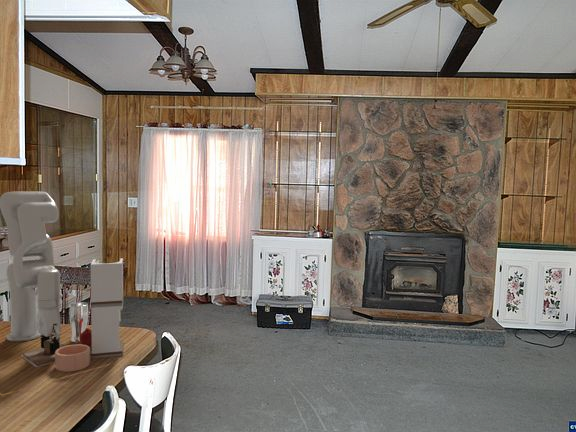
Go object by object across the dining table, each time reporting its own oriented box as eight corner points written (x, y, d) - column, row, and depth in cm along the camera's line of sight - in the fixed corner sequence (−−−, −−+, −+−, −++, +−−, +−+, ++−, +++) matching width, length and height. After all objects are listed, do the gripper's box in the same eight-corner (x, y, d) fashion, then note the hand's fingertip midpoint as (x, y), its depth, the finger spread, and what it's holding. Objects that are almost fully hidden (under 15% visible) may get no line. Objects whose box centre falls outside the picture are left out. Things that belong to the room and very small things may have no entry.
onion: (97, 344, 186) (97, 324, 186) (94, 349, 181) (93, 329, 180) (82, 345, 185) (81, 325, 185) (78, 350, 180) (77, 329, 179)
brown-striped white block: (122, 356, 174) (121, 263, 172) (92, 359, 171) (90, 264, 168) (123, 346, 185) (122, 258, 183) (94, 348, 182) (93, 259, 179)
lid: (22, 355, 172) (22, 341, 172) (62, 346, 183) (61, 332, 182) (37, 366, 163) (36, 350, 163) (77, 355, 173) (77, 341, 173)
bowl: (50, 366, 164) (50, 349, 163) (81, 358, 172) (81, 342, 171) (63, 375, 157) (63, 358, 156) (95, 366, 164) (94, 349, 164)
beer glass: (81, 344, 187) (81, 307, 185) (66, 342, 188) (65, 305, 187) (92, 338, 193) (91, 302, 192) (77, 337, 195) (76, 301, 194)
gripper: (29, 300, 174) (30, 346, 176) (47, 309, 163) (48, 359, 164) (50, 297, 180) (51, 341, 181) (69, 305, 168) (70, 353, 169)
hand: (50, 349), depth 173 cm, fingers open, 7 cm apart
